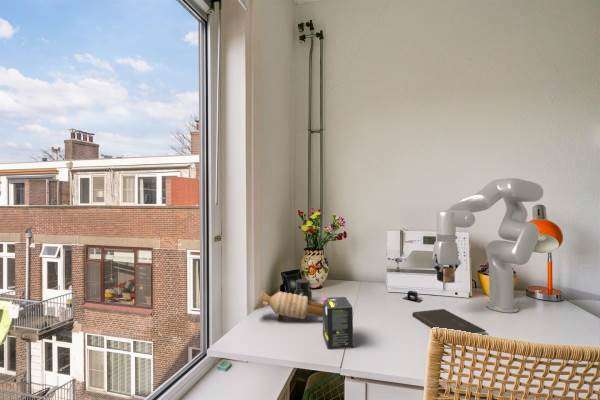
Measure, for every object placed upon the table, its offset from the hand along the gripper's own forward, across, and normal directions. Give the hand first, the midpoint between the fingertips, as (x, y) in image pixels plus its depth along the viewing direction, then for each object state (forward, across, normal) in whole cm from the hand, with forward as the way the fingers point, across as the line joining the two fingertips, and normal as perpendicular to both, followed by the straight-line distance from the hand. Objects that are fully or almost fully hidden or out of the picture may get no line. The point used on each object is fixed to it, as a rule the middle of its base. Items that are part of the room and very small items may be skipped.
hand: (445, 279), depth 130 cm
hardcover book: (+17, +6, +8) cm, 20 cm away
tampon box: (+18, +54, +11) cm, 58 cm away
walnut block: (+1, 0, 0) cm, 1 cm away
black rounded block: (+17, +1, -23) cm, 29 cm away
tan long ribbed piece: (+18, +66, -12) cm, 69 cm away
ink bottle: (+18, +58, -29) cm, 67 cm away
